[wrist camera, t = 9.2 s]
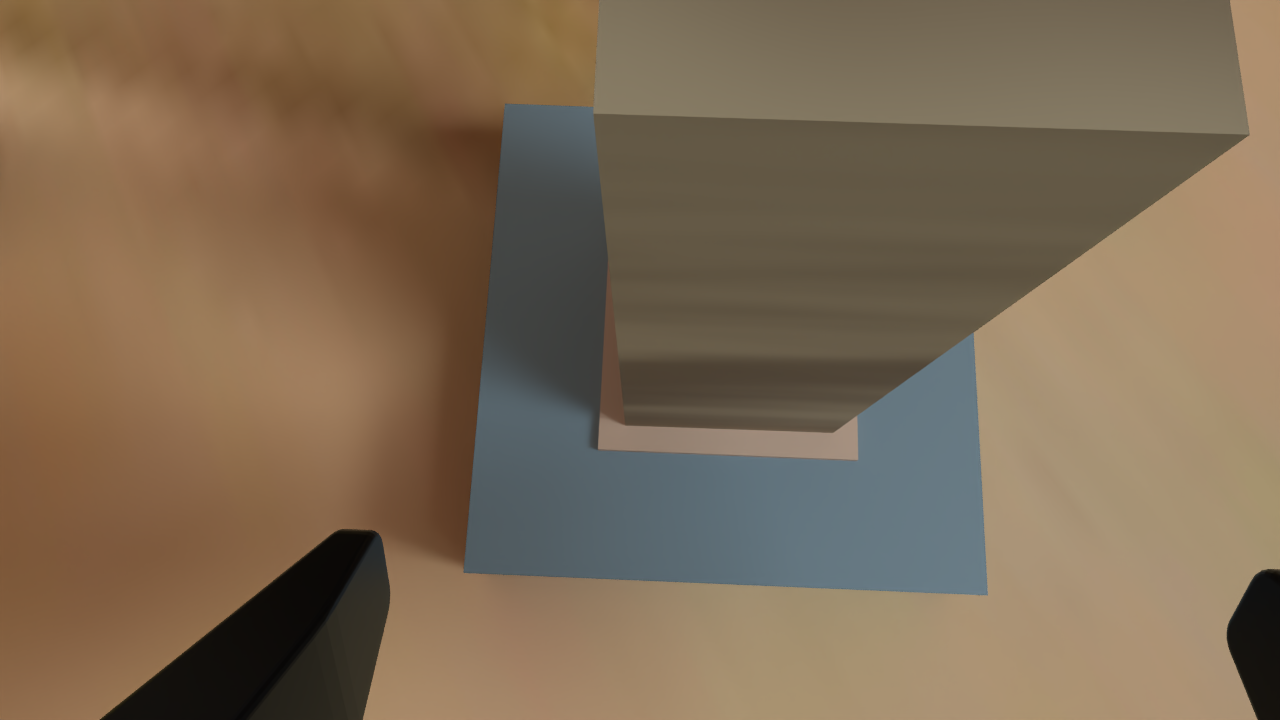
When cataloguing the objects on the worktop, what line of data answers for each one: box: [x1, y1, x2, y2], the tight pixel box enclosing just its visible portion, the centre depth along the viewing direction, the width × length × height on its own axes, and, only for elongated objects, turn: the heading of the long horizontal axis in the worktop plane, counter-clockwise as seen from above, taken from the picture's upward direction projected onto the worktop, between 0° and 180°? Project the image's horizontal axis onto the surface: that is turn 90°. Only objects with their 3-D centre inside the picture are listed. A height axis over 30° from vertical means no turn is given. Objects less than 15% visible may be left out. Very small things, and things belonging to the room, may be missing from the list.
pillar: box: [593, 0, 1250, 433], centre depth 13 cm, size 4×4×13 cm
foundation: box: [464, 104, 988, 595], centre depth 20 cm, size 11×11×3 cm
